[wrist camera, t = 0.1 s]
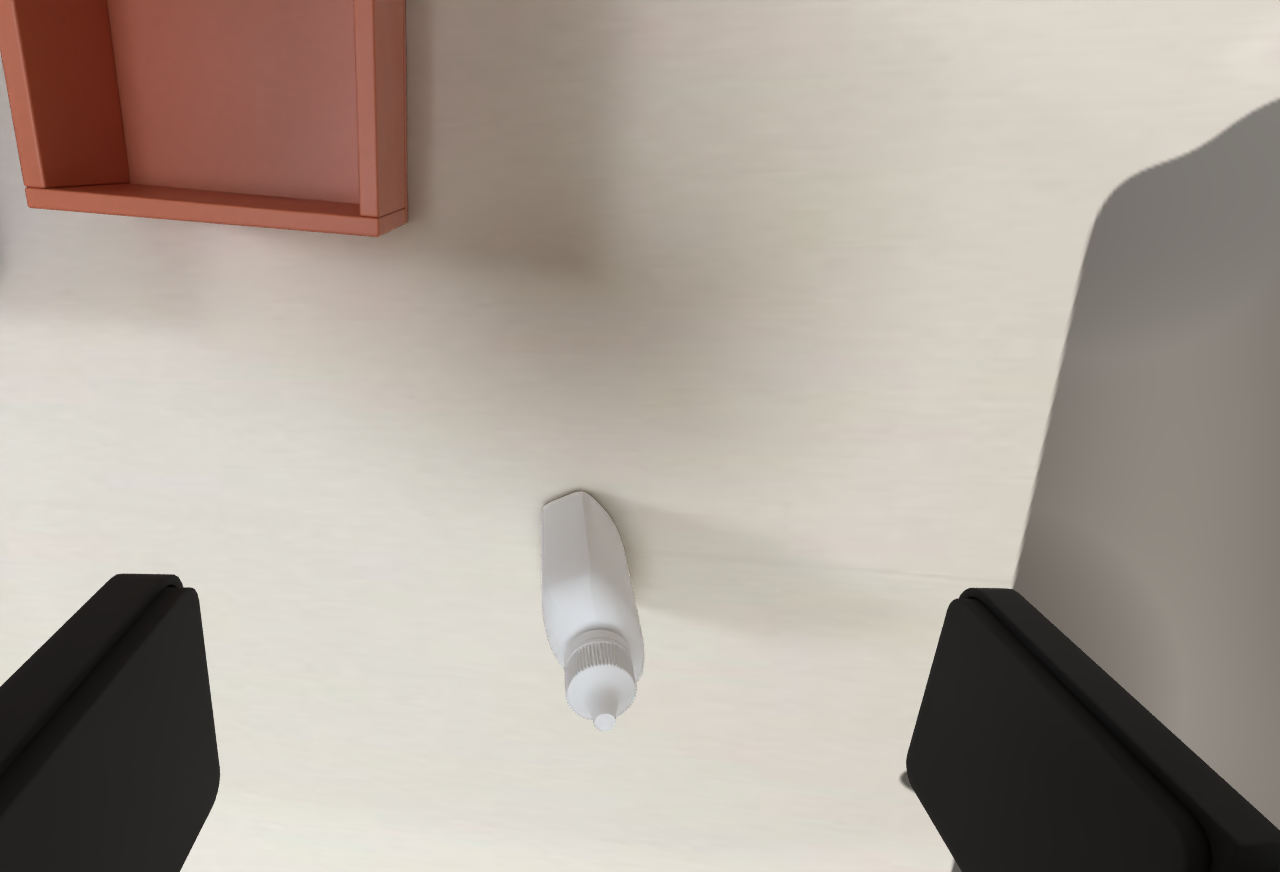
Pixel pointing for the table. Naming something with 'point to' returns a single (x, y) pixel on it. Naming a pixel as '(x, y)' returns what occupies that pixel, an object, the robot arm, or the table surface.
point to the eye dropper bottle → (590, 608)
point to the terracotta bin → (213, 110)
